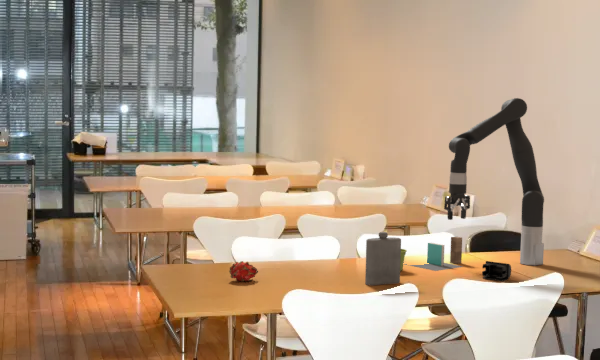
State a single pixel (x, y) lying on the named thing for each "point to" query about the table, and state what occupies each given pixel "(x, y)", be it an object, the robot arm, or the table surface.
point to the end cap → (496, 271)
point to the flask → (383, 260)
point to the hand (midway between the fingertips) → (456, 219)
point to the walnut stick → (456, 250)
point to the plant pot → (402, 258)
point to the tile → (435, 254)
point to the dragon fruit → (242, 271)
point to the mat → (436, 266)
